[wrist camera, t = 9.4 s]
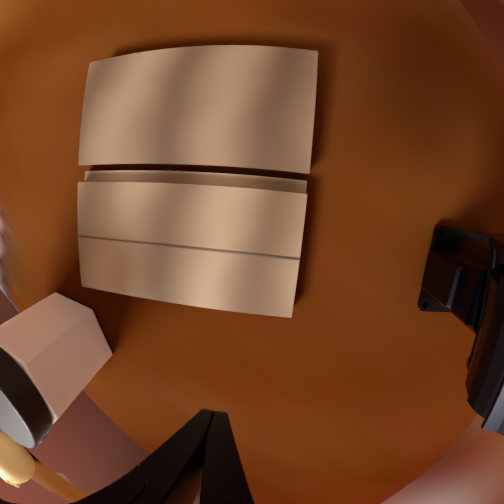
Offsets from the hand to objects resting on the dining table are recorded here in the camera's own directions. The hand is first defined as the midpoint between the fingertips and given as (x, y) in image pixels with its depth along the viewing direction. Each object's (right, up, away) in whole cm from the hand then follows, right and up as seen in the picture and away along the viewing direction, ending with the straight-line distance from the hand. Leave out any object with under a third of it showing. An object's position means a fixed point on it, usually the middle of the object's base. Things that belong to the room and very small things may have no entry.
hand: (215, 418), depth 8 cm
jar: (-15, -2, +14) cm, 21 cm away
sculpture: (-47, -35, +25) cm, 64 cm away
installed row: (-4, +6, +11) cm, 13 cm away
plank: (-3, +15, +8) cm, 18 cm away
